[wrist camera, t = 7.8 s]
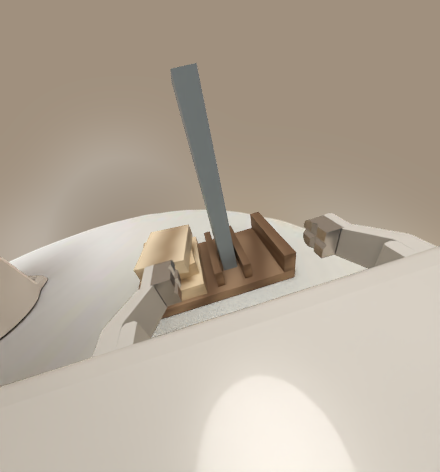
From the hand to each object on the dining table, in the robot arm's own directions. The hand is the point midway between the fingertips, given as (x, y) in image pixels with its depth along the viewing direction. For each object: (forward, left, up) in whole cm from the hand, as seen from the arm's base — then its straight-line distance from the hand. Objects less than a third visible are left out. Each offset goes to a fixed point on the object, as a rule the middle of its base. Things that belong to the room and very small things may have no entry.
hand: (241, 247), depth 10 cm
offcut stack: (-13, +7, -12) cm, 19 cm away
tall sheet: (-6, +11, -12) cm, 17 cm away
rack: (-9, +10, -13) cm, 19 cm away
